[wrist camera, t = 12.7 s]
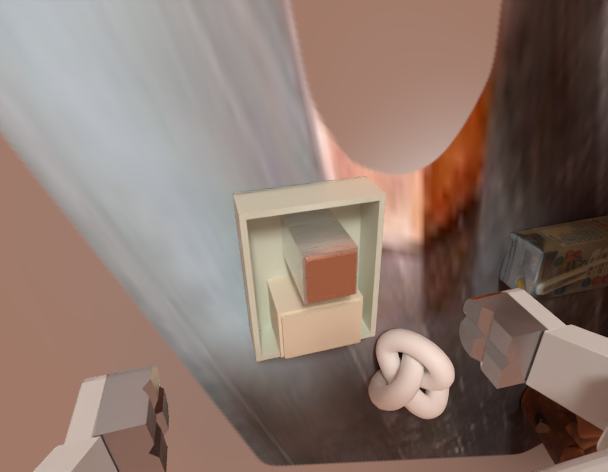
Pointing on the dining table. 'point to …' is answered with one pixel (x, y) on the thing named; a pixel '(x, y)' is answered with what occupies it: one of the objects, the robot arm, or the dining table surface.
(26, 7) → the dining table surface
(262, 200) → the tote
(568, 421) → the brown bucket
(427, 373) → the pretzel
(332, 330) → the beige rectangular block
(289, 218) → the copper capped metal stub
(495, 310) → the robot arm
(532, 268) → the beverage carton
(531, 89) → the dining table surface
